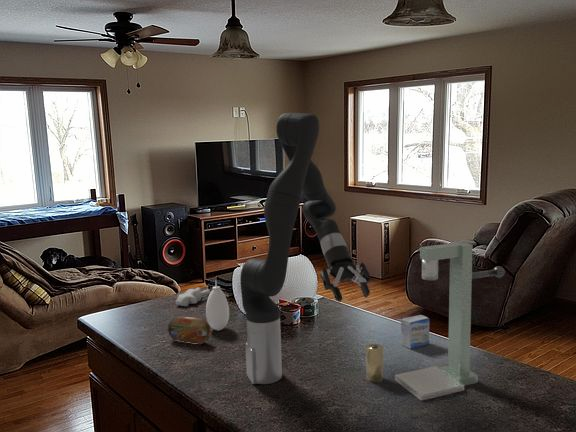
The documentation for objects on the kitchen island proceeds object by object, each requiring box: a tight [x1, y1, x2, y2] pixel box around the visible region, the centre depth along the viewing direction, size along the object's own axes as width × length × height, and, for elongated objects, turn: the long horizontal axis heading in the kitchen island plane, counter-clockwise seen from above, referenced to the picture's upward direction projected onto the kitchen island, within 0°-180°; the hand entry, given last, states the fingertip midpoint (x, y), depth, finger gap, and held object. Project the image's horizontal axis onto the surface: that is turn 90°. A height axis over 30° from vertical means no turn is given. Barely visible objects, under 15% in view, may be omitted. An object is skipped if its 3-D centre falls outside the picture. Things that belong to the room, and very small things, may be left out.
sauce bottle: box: [205, 280, 230, 331], centre depth 178 cm, size 8×8×18 cm
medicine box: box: [400, 314, 430, 350], centre depth 161 cm, size 8×4×9 cm, turn 117°
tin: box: [167, 315, 211, 345], centre depth 169 cm, size 15×3×8 cm, turn 68°
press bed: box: [394, 241, 506, 401], centre depth 136 cm, size 30×12×37 cm, turn 110°
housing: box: [365, 343, 384, 383], centre depth 139 cm, size 4×4×9 cm
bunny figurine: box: [175, 287, 211, 307], centre depth 211 cm, size 10×5×15 cm
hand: (354, 298), depth 148 cm, fingers open, 8 cm apart
